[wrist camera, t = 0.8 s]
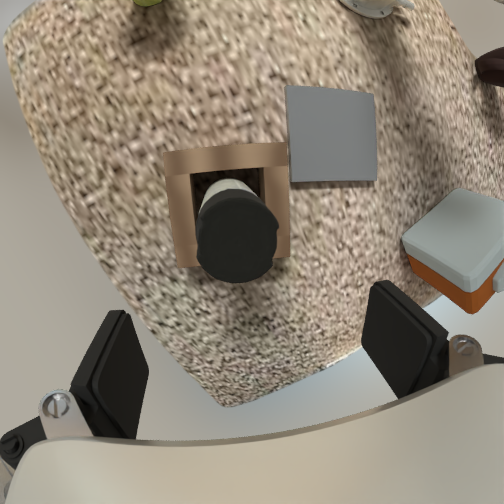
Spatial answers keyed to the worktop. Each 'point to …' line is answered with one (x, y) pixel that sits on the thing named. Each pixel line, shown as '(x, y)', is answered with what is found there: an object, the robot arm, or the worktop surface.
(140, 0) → the plant pot
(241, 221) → the spray can
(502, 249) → the alarm clock
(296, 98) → the slate coaster
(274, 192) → the walnut collar
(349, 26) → the worktop surface
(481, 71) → the cup
